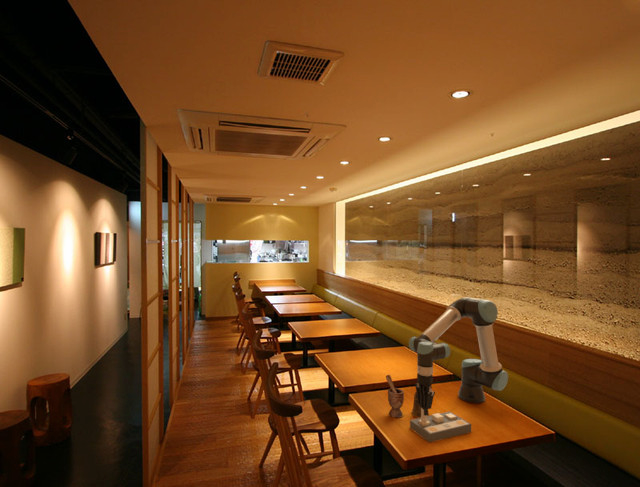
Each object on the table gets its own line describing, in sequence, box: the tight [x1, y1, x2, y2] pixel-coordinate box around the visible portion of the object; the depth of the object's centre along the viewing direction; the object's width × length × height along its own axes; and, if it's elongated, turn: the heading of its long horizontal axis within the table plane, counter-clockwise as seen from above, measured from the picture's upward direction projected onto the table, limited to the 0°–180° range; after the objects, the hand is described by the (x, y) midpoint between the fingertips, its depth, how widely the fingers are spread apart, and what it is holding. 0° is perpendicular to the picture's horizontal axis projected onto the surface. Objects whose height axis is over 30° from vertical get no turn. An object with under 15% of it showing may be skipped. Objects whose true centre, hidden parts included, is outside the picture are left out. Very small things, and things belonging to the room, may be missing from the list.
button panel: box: [409, 411, 472, 443], centre depth 189 cm, size 26×15×4 cm, turn 113°
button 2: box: [445, 412, 458, 420], centre depth 194 cm, size 4×4×4 cm
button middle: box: [431, 412, 444, 423], centre depth 191 cm, size 4×4×4 cm
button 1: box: [418, 420, 430, 426], centre depth 188 cm, size 4×4×4 cm
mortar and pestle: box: [385, 374, 405, 419], centre depth 207 cm, size 12×9×20 cm
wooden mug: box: [411, 382, 433, 418], centre depth 208 cm, size 9×14×18 cm, turn 134°
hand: (424, 420), depth 188 cm, fingers closed
